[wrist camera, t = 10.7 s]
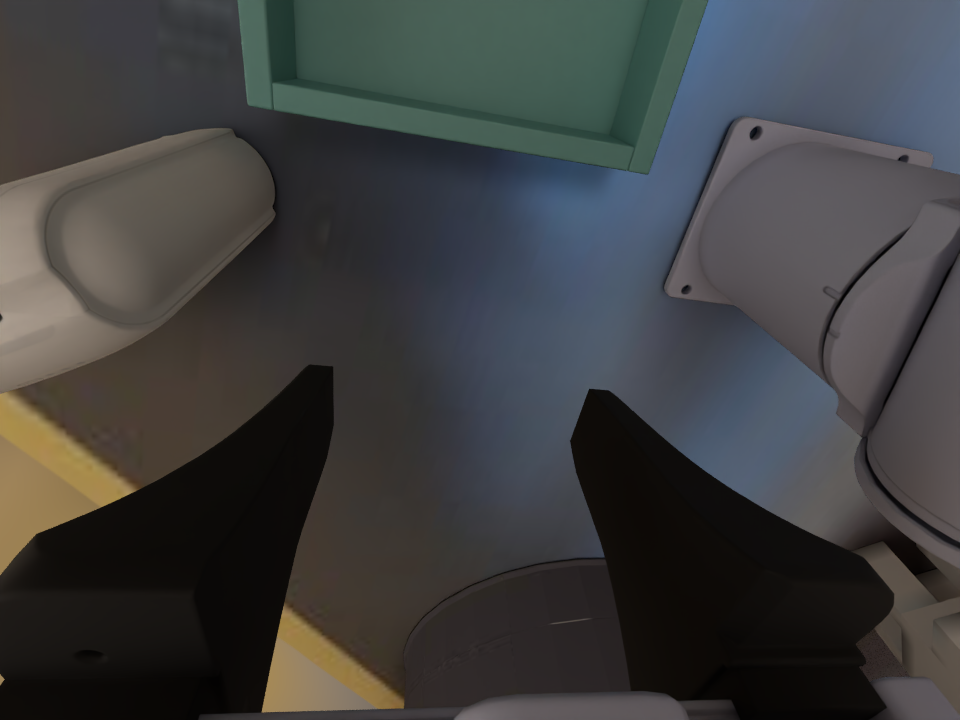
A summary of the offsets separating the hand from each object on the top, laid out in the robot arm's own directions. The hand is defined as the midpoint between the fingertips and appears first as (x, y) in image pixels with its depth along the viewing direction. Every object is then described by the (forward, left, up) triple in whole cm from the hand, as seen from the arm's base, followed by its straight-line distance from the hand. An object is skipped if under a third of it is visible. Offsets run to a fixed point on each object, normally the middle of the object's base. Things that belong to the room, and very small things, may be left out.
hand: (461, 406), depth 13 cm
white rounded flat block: (+13, -1, -11) cm, 17 cm away
